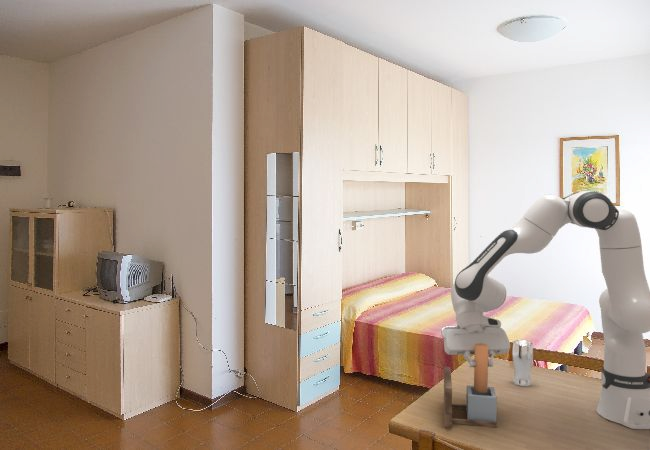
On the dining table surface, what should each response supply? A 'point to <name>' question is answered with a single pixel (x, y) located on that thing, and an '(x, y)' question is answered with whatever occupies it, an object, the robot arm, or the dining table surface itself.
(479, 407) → the socket block
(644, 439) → the dining table surface
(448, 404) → the backstop wall
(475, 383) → the dowel
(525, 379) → the beer glass
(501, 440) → the dining table surface
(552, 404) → the dining table surface
